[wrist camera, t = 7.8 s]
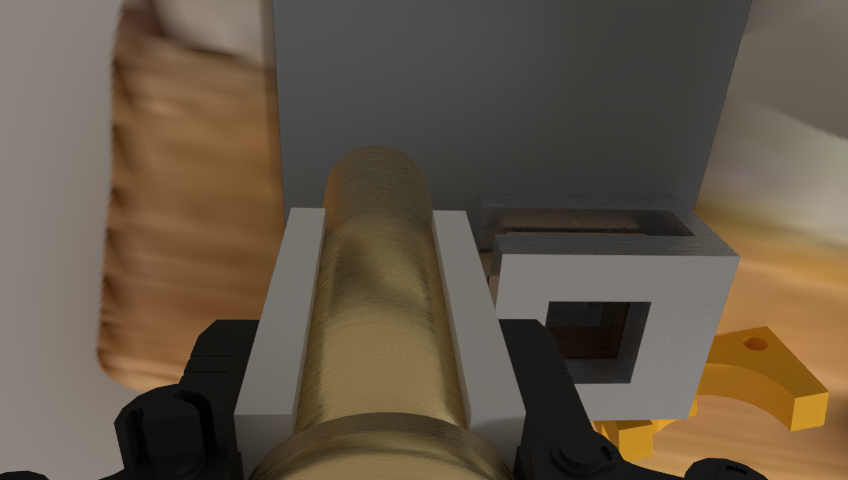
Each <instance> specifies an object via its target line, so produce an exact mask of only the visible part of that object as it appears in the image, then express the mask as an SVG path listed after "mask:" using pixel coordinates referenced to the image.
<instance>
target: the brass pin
mask: <svg viewBox="0 0 848 480" xmlns="http://www.w3.org/2000/svg"><path fill="white" fill-rule="evenodd" d="M322 208H325V213H326V229H325V236H324V242H323V249H322V255H321V262H320V269H319V275H318V282H317V288H316V295H315V301H314V308H313V314H312V321H311V327H310V334H309V340H308V347H307V353H306V360H305V366H304V373H303V380H302V386H301V393H300V399H299V406H298V412H297V419H296V425H295V432H294V435H293V436H291V437H290V438H288V439H287V440H285V441H284V442H282V443H281V444H279V445H278V446H277V447H275V448H274V449H273V450H272V451H271V452H270V453H268V454H267V455H266V456H265V457H264V458H263V459H262V460H261V461H260V463H259V464H258V465H257V466H256V468H255V469H254V470H253V471H252V473H251V475H250V477H249V478H248V480H515V477H514V475H513V474H512V472H511V470H510V468H509V466H508V464H507V463H506V462H505V461H504V459H503V458H502V457H501V455H500V454H499V453H498V452H497V451H496V450H495V449H494V448H492V447H491V446H490V445H489V444H488V443H487V442H485V441H484V440H482V439H481V438H480V437H478V436H477V435H475V434H473V433H471V432H469V431H468V430H467V425H466V419H465V413H464V408H463V402H462V397H461V391H460V385H459V380H458V374H457V369H456V363H455V357H454V352H453V346H452V341H451V335H450V329H449V324H448V318H447V313H446V307H445V301H444V296H443V290H442V285H441V279H440V273H439V268H438V262H437V257H436V251H435V245H434V240H433V234H432V215H433V207H432V202H431V197H430V192H429V187H428V182H427V179H426V176H425V174H424V172H423V170H422V169H421V167H420V166H419V165H418V163H417V162H416V161H415V160H414V159H412V158H411V157H410V156H409V155H407V154H406V153H404V152H402V151H400V150H398V149H395V148H392V147H387V146H367V147H362V148H359V149H356V150H354V151H352V152H350V153H348V154H347V155H345V156H344V157H343V158H342V159H340V160H339V161H338V162H337V164H336V165H335V166H334V168H333V169H332V171H331V173H330V174H329V177H328V180H327V184H326V189H325V195H324V201H323V206H322Z"/></svg>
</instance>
